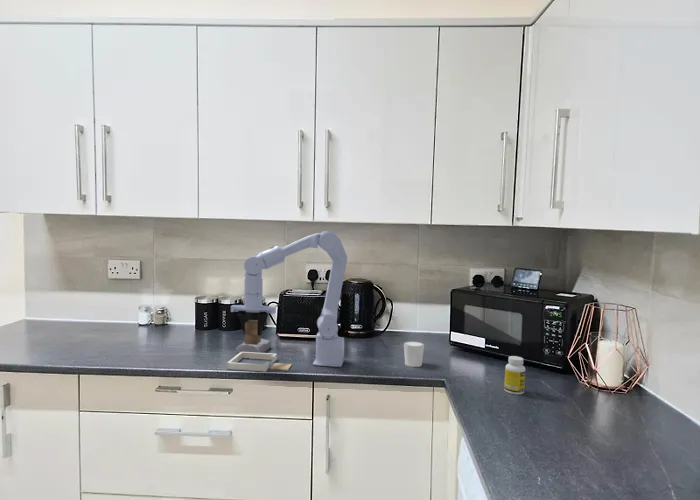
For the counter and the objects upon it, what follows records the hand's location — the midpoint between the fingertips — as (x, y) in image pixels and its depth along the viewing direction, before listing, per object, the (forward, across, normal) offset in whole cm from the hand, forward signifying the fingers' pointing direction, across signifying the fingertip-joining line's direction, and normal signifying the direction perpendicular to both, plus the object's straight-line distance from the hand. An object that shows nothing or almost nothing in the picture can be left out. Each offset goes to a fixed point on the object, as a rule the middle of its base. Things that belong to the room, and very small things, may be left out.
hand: (253, 334), depth 147 cm
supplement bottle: (+10, -80, +10) cm, 82 cm away
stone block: (+10, +5, -15) cm, 19 cm away
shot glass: (+10, -52, -10) cm, 54 cm away
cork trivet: (+10, -10, +2) cm, 14 cm away
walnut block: (+3, 0, 0) cm, 3 cm away
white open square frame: (+10, 0, 0) cm, 10 cm away
